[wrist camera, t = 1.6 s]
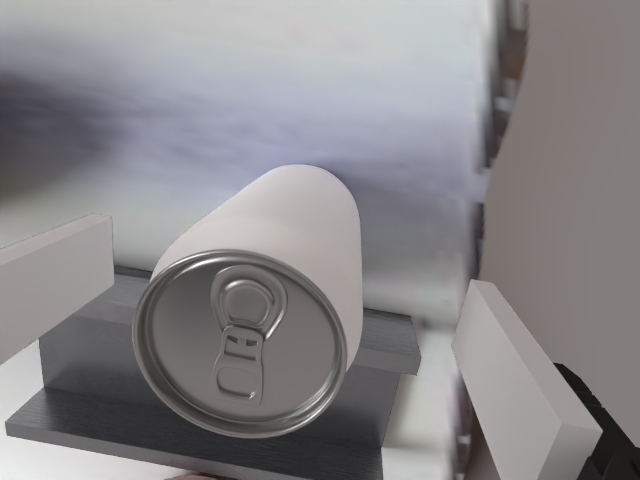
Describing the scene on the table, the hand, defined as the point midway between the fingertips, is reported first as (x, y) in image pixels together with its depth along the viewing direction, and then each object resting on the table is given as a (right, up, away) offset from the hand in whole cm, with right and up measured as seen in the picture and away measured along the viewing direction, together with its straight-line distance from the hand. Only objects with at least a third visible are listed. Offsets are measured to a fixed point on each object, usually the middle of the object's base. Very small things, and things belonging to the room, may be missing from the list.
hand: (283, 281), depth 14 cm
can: (0, +3, +7) cm, 8 cm away
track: (-5, -6, +10) cm, 13 cm away
